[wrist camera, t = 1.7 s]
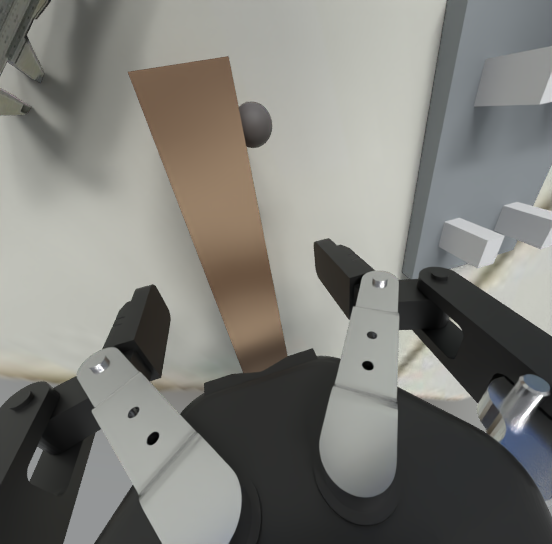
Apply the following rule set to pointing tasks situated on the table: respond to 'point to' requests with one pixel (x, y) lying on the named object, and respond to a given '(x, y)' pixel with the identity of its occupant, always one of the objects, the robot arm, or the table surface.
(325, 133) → the table surface
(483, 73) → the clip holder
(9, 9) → the caliper
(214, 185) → the cabinet door
